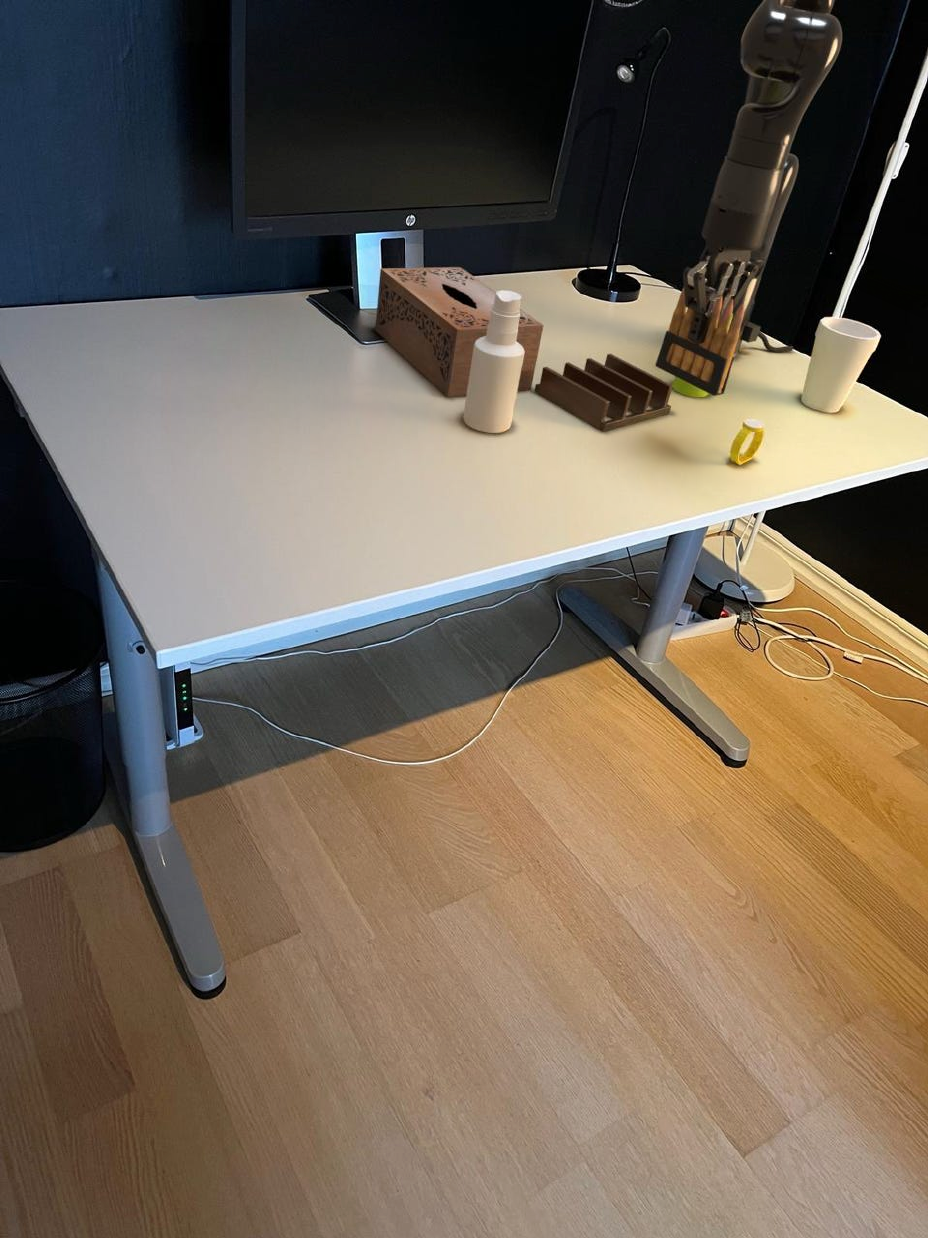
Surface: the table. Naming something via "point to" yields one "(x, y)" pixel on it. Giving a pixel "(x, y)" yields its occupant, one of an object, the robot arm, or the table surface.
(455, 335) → the tissue box cover
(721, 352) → the ammunition clip
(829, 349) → the foam cup
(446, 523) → the table surface
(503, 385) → the spray bottle
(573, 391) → the slotted rack
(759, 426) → the watch
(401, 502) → the table surface
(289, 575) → the table surface
